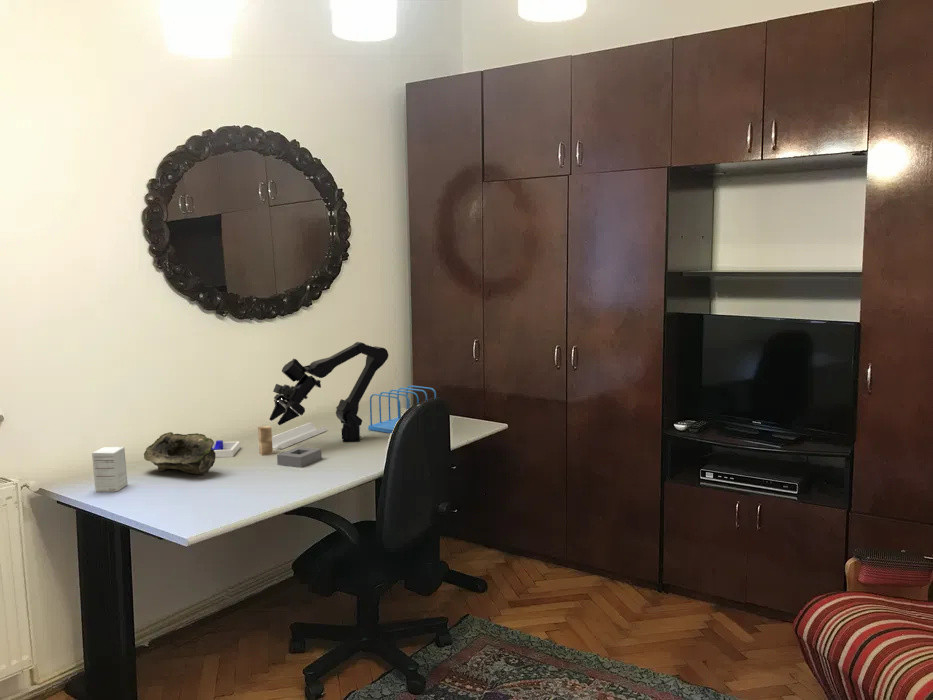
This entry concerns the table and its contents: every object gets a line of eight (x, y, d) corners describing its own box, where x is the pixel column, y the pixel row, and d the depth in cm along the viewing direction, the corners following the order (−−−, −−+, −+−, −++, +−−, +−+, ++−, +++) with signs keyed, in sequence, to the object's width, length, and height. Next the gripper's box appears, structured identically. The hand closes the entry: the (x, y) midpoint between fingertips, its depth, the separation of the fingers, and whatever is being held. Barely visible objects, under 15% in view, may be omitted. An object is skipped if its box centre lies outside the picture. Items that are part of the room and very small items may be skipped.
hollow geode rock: (215, 490, 264) (238, 451, 271) (191, 471, 255) (215, 432, 262) (160, 477, 278) (183, 440, 285) (135, 458, 269) (160, 421, 276)
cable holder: (213, 456, 290) (212, 445, 289) (205, 455, 291) (204, 445, 290) (226, 451, 297) (226, 440, 297) (219, 450, 298) (218, 440, 298)
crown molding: (282, 451, 297) (281, 441, 297) (255, 449, 302) (255, 439, 301) (327, 432, 326) (327, 423, 325) (302, 430, 330) (302, 421, 330)
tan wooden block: (270, 452, 293) (268, 425, 292) (272, 453, 291) (271, 427, 290) (259, 453, 291) (257, 427, 290) (262, 455, 289) (260, 428, 287)
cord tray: (240, 447, 301) (239, 441, 300) (232, 456, 288) (232, 450, 287) (205, 449, 300) (204, 442, 300) (196, 458, 287) (195, 451, 287)
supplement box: (105, 485, 256) (102, 446, 255) (128, 484, 256) (125, 446, 255) (94, 492, 249) (91, 452, 248) (117, 491, 249) (114, 452, 247)
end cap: (298, 456, 287) (298, 446, 286) (321, 458, 282) (321, 449, 282) (277, 464, 276) (276, 454, 275) (301, 467, 272) (300, 457, 271)
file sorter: (400, 435, 315) (399, 397, 313) (367, 430, 325) (366, 393, 323) (438, 423, 335) (437, 387, 333) (407, 419, 345) (406, 384, 343)
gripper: (278, 372, 300) (250, 404, 296) (295, 379, 284) (266, 413, 280) (298, 391, 305) (272, 422, 301) (316, 398, 289) (289, 432, 285)
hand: (274, 422), depth 292 cm, fingers open, 9 cm apart
